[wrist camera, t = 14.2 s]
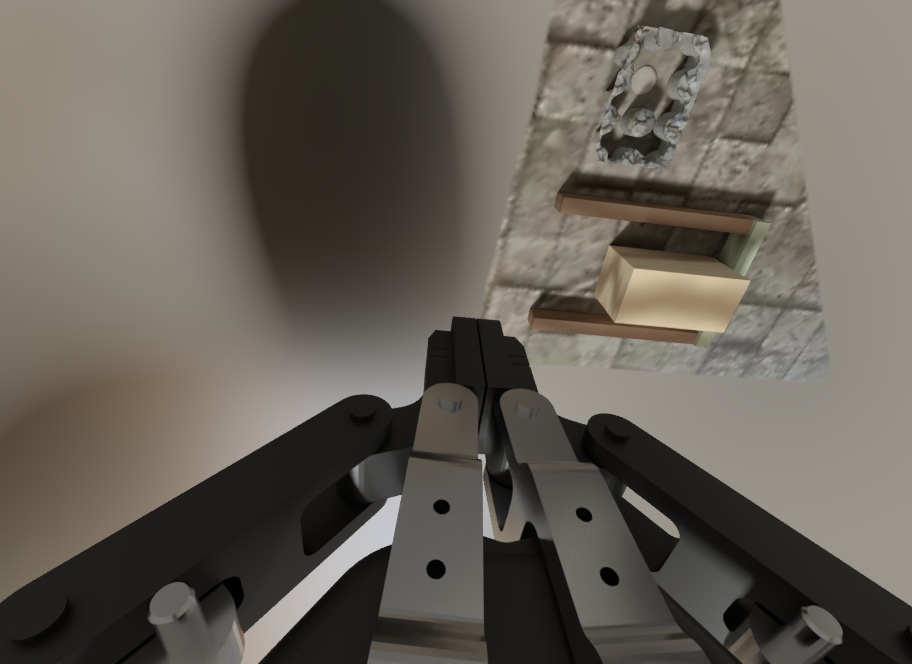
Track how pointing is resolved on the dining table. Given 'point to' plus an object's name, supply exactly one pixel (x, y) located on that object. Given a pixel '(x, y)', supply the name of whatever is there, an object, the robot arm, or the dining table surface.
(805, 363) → the dining table surface
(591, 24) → the dining table surface
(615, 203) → the wooden tray frame
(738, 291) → the maple block
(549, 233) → the dining table surface
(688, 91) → the egg carton
